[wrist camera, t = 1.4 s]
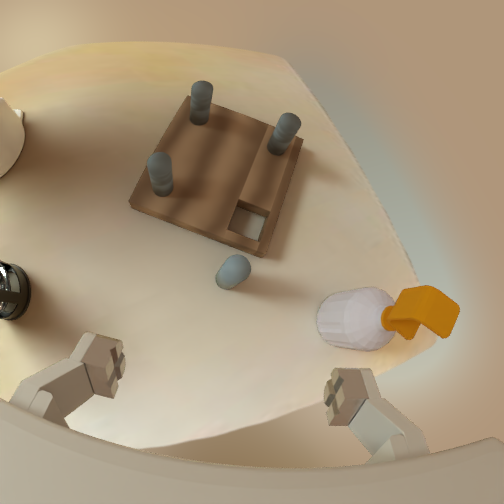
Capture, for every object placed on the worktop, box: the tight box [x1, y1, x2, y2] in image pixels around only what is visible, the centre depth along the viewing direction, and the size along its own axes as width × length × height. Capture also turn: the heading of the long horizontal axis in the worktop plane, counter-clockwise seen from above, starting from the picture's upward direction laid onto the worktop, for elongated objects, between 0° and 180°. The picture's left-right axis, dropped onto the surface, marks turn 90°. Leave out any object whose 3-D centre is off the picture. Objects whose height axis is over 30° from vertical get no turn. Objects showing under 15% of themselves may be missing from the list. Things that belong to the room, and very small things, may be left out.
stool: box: [129, 81, 304, 258], centre depth 45 cm, size 22×22×11 cm
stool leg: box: [216, 255, 251, 289], centre depth 42 cm, size 3×3×11 cm
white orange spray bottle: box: [317, 285, 460, 351], centre depth 38 cm, size 9×9×25 cm
